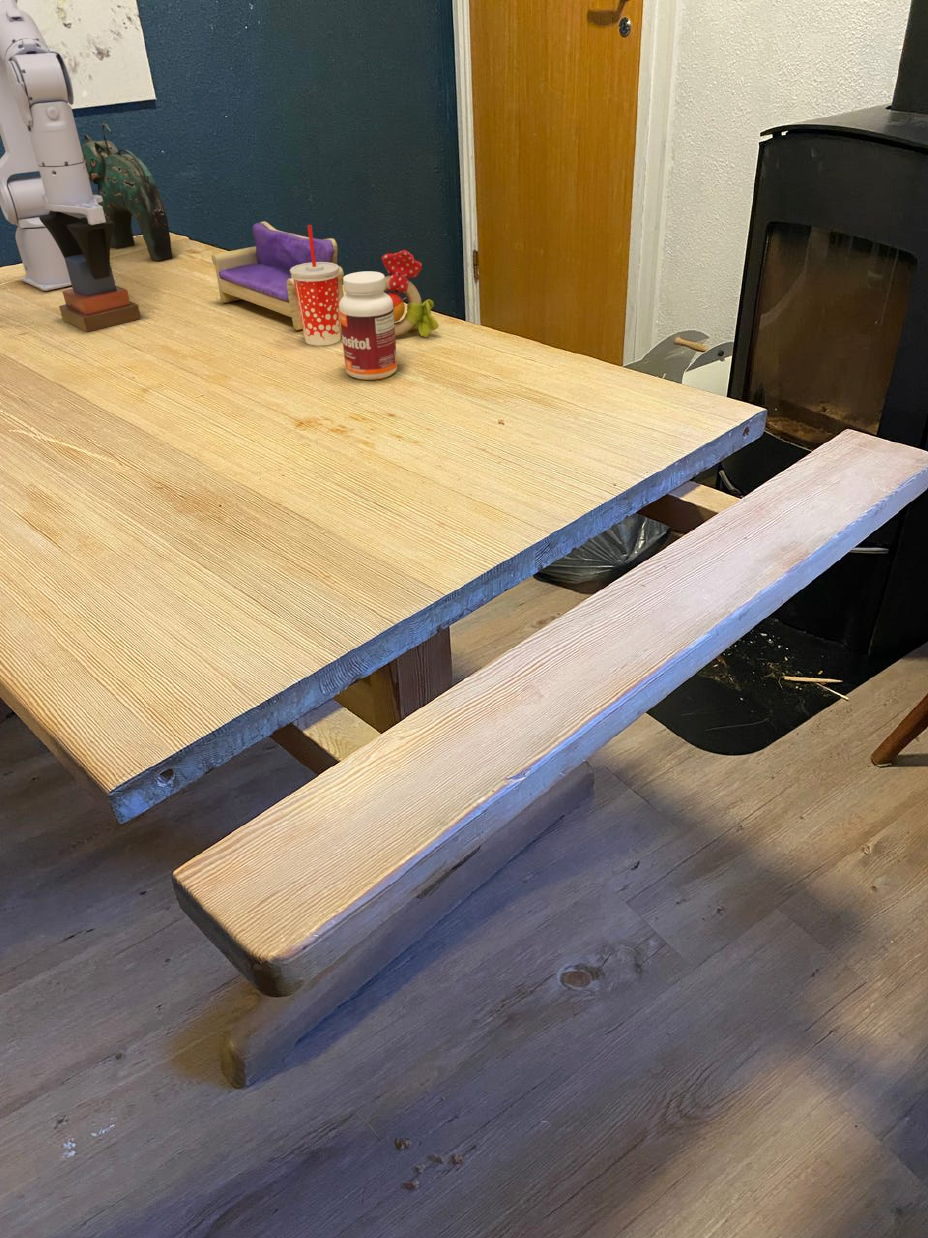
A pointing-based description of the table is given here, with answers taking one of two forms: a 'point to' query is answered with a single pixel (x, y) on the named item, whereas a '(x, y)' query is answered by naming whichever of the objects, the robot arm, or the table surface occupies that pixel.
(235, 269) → the toy sofa
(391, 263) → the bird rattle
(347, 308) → the pill bottle
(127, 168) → the green animal figurine
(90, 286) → the cube
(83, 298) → the stack
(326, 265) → the beverage cup
